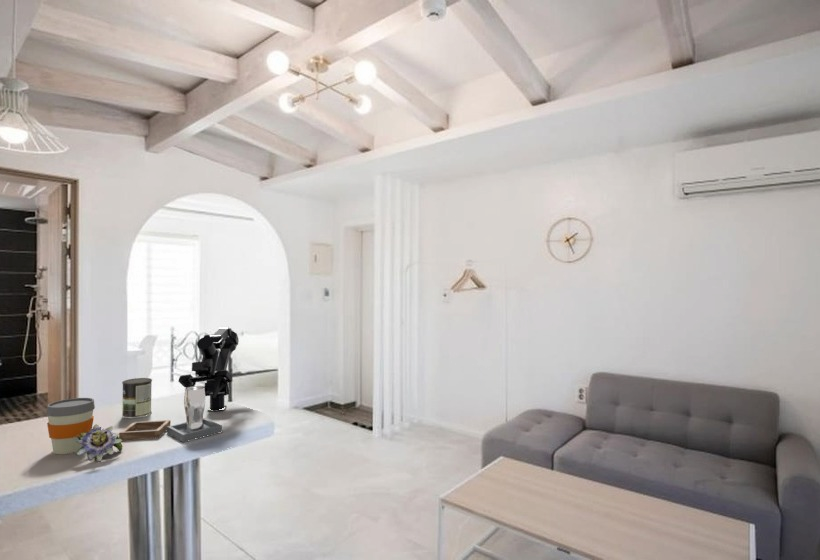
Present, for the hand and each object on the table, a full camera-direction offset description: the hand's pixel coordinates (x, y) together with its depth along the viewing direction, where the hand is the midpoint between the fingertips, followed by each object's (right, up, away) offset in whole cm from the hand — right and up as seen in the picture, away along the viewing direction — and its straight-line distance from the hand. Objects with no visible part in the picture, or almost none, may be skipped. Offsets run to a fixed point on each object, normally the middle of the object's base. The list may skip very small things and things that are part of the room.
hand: (201, 399), depth 170 cm
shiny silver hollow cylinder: (+1, -9, -8) cm, 12 cm away
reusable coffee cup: (-31, -10, -24) cm, 41 cm away
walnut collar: (-16, -10, -9) cm, 21 cm away
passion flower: (-17, -10, -31) cm, 37 cm away
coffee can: (-32, -10, +13) cm, 36 cm away
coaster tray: (+2, -10, -9) cm, 13 cm away
